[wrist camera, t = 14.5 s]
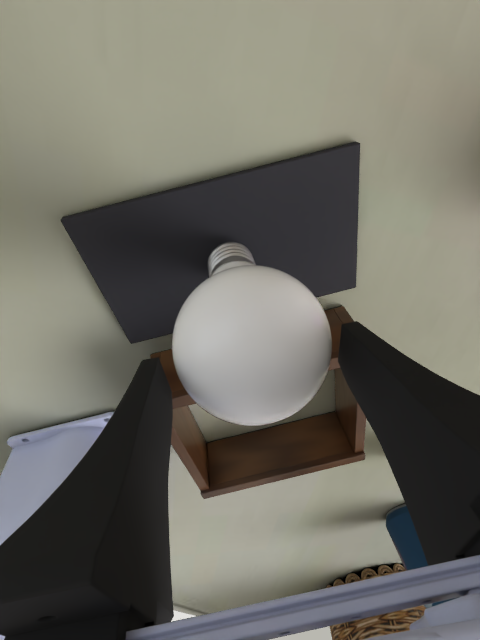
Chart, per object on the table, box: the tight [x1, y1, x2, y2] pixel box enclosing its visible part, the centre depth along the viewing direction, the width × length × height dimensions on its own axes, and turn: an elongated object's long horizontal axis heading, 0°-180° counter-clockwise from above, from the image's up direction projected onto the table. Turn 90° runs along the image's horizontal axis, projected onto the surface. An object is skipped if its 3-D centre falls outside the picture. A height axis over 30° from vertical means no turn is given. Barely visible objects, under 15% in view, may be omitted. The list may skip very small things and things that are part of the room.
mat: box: [61, 142, 360, 344], centre depth 19 cm, size 16×9×1 cm, turn 101°
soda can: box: [386, 504, 459, 608], centre depth 46 cm, size 7×7×12 cm
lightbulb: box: [172, 242, 332, 426], centre depth 15 cm, size 6×6×11 cm
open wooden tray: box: [150, 306, 366, 499], centre depth 26 cm, size 15×14×5 cm
